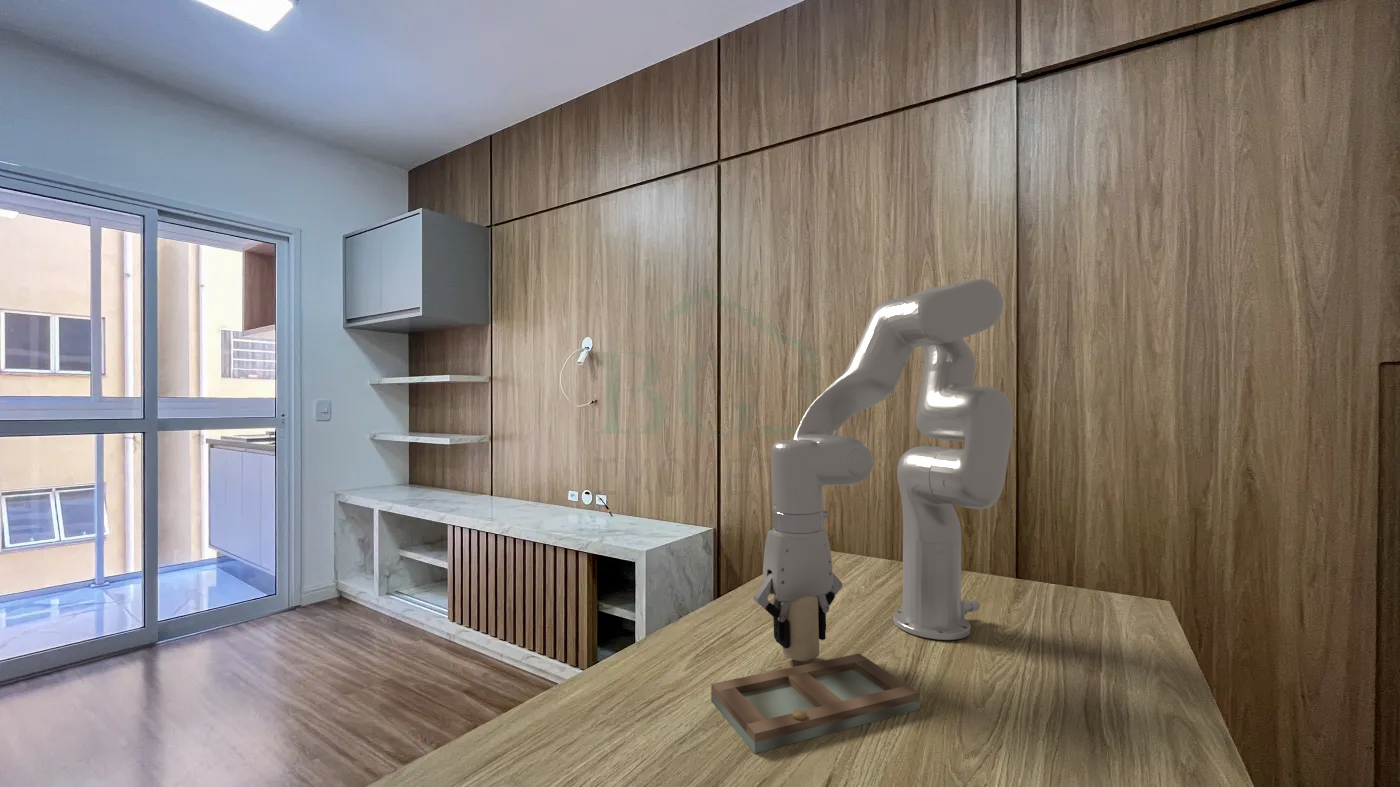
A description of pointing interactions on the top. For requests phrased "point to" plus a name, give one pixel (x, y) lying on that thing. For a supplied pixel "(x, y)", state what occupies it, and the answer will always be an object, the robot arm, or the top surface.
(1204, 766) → the top surface
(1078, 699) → the top surface
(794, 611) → the candle
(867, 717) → the divided tray
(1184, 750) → the top surface
